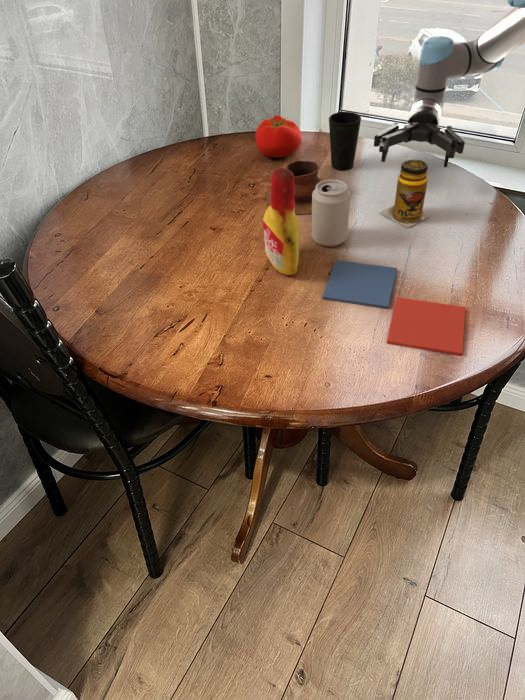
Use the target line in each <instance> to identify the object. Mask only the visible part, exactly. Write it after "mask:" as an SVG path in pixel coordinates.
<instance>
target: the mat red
mask: <svg viewBox="0 0 525 700" xmlns="http://www.w3.org/2000/svg"><path fill="white" fill-rule="evenodd" d="M466 309H467V308H466V306H461V305H453V304H448V303H441V302H433V301H427V300H420V299H412V298H406V297H399V296H396V297H395V303H394V306H393V311H392V316H391V320H390V324H389V325H390V326H389V330H388V334H387V338H386V344H389V345H395V346H401V347H407V348H412V349H413V348H414V349H418V350H426V351H429V352H430V351H431V352H437V353H442V354H449V355H455V356H463V352H464V350H463V349H464V338H465V337H464V336H465V323H466Z"/></svg>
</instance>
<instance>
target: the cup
mask: <svg viewBox="0 0 525 700" xmlns="http://www.w3.org/2000/svg"><path fill="white" fill-rule="evenodd" d="M361 122H362V117H361V115H360V114H358V113H355V112H352V111H339V112H335V113H332V114H330V116H329V117H328V126H329V127H328V128H329V143H330V145H329V146H330V163H331V164H330V165H331V168H332V169H334V170H335V171H339V172H340V171H341V172H344V171H348V170H351V169H353V168H354V165H355V159H356V152H357V146H358V141H359V135H360V129H361Z"/></svg>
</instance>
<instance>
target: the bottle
mask: <svg viewBox="0 0 525 700" xmlns="http://www.w3.org/2000/svg"><path fill="white" fill-rule="evenodd" d="M270 187H271V205H270V204H269V205H268V207H267V209H266V210H265V213H264V215H263V218H262V228H263V239H264V250H265V251H264V252H265V254H266V257H267V259H268V260H269V262H270V263H271V265H272V266H273V268H274V269H275V270H276V271H277V272H279V273H280V274H282V275H285V276H292V275H295V274H296V273H297V271H298V266H299V260H300V256H299V255H300V234H301V233H300V232H301V231H300V230H301V228H300V222H299V220H298V217H297V214H295V200H294V197H295V189H294V174H293V173H292V172H291V171H290V170H288V169H286V167H278V168H277V169H275V170H273V171H272V173H271V178H270Z"/></svg>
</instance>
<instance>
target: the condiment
mask: <svg viewBox="0 0 525 700" xmlns="http://www.w3.org/2000/svg"><path fill="white" fill-rule="evenodd" d="M400 168H401V169H400V171H399V175H398V177H397V183H396V192H395V197H394V204H393V205H392V206H390V207H388V208H385V209H383V210H381V211H379V212H378V213H379V214H381V215H382V216H384V217H387V218H389V219H390V220H392V221H393V222H395V223H397V224H399V225H401V226H403V227H405V228H410V227H413V226H415V225H417V224H419V223H420V222H422V221H424V220H426V219H427V218H429V217H431V214H428V213H426V212H424V204H425V199H426V192H427V188H428V179H429V178H428V177H427V175H428V169H429V167H428V163H426V162H425V161H423V160H420V159H408V160H405V161H403V162H402V163H401V166H400Z"/></svg>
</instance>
